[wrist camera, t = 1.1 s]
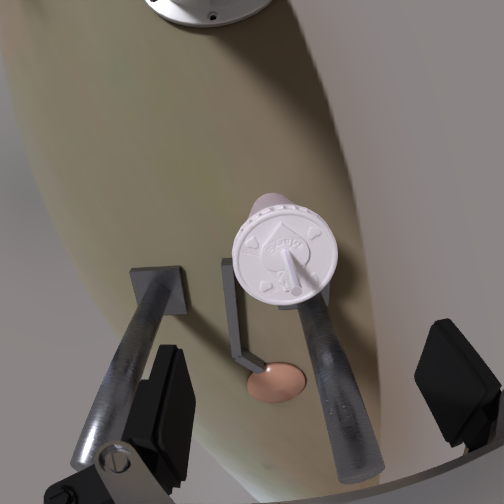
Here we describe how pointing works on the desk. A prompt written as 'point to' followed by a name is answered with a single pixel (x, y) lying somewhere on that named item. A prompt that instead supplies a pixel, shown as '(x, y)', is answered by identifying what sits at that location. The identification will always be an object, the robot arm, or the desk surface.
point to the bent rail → (236, 320)
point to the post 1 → (130, 359)
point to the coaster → (276, 382)
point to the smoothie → (283, 252)
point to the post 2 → (339, 394)
